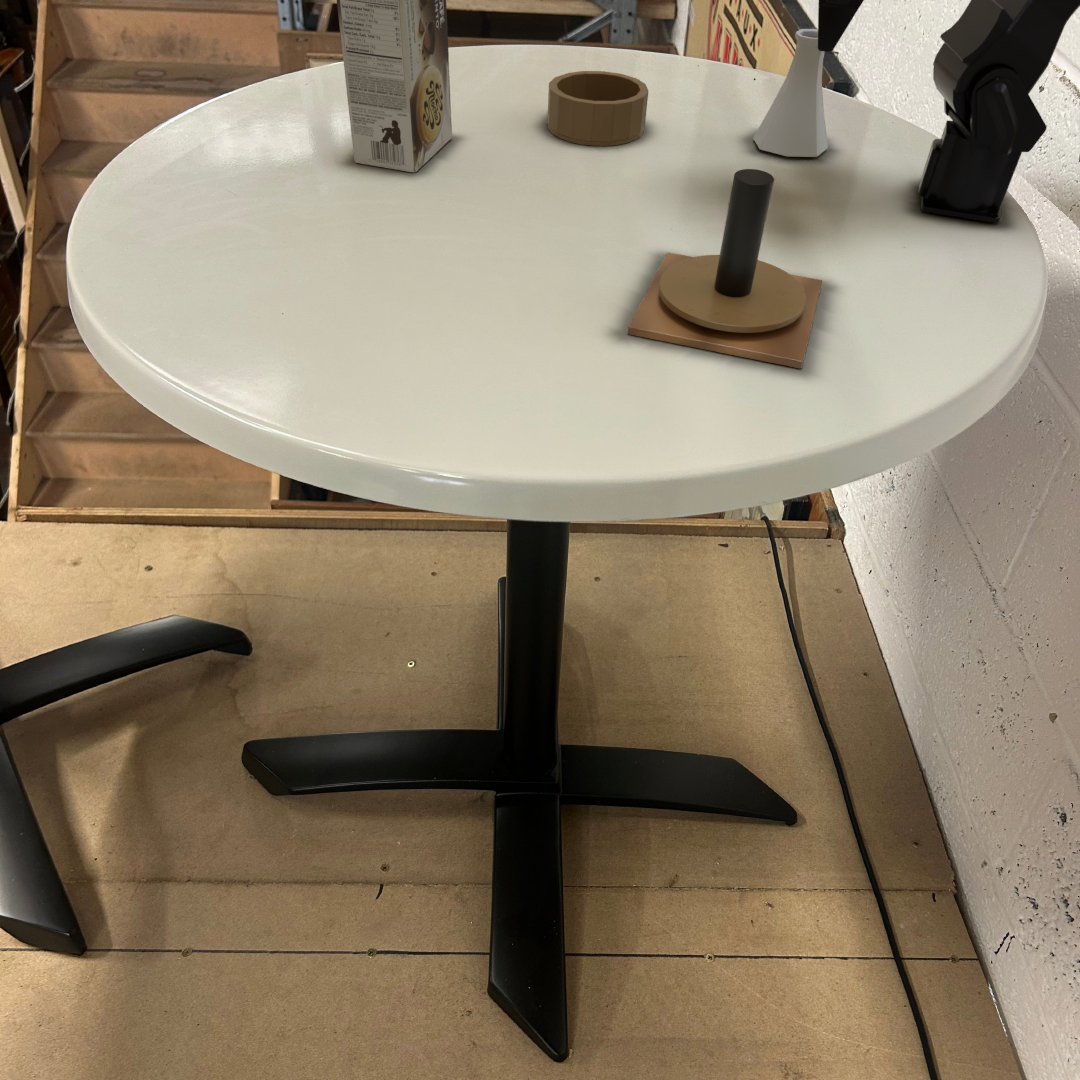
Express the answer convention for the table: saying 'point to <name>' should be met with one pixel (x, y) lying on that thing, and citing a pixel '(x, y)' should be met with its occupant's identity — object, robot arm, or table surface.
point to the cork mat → (763, 346)
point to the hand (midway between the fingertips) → (830, 34)
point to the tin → (597, 108)
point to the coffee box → (396, 80)
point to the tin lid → (736, 271)
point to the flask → (798, 105)
